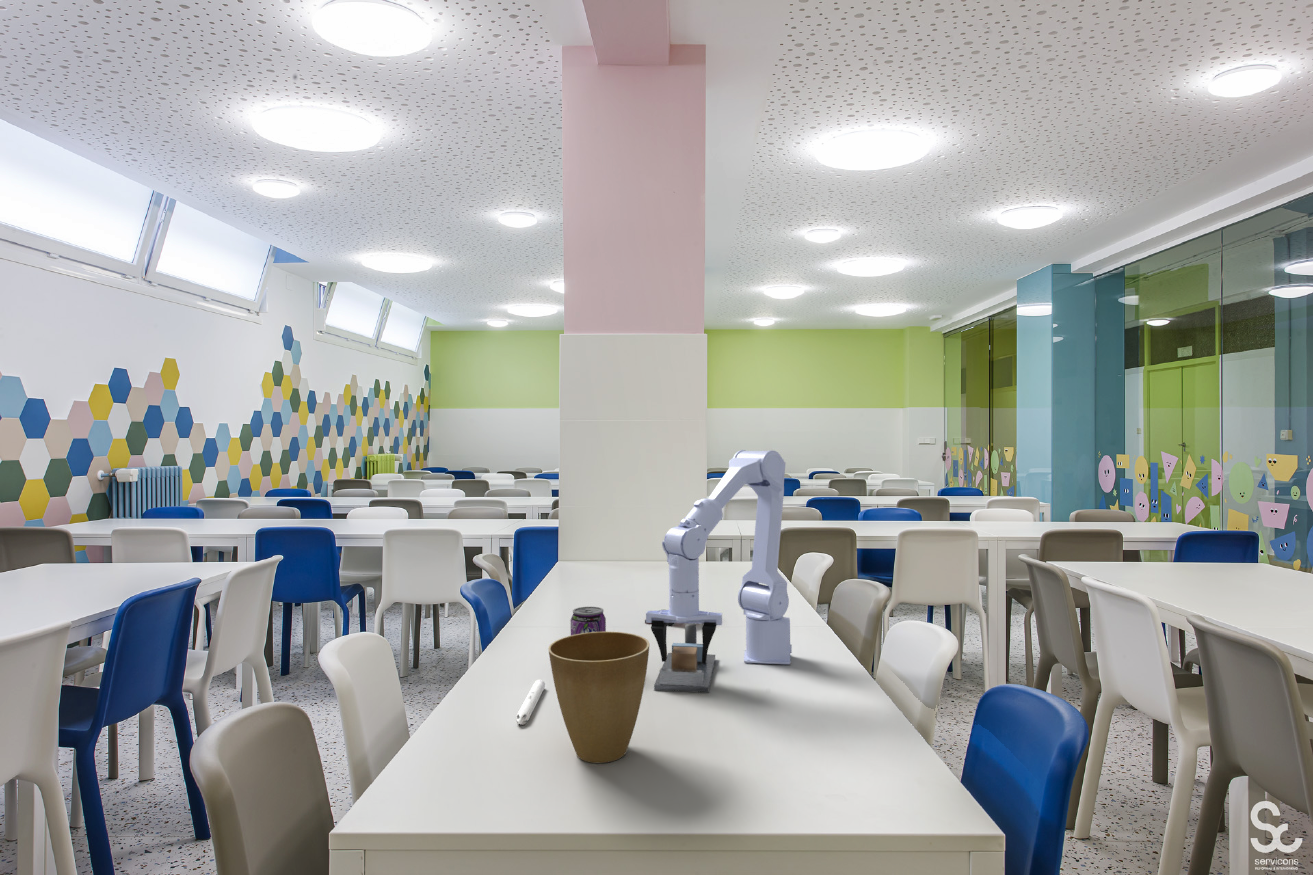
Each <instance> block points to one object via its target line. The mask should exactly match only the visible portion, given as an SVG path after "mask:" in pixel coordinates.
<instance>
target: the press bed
mask: <svg viewBox="0 0 1313 875" xmlns="http://www.w3.org/2000/svg"><path fill="white" fill-rule="evenodd" d="M671 653H672V652H667V659H666V662H663V664H662V667H661V668H660V669H659V673H658V675H657V678H656V680H655V682H654V684H653V691H660V692H661V691H662V692H663V691H664V692H682V693H683V692H686V693H701V694H702V693H704V694H709V691H710V687H711V681H712V677H713V672H714V669H715V664H716V663H715V662H716V654H710V653H709V654H708V653H707V660H706V663H702V662H700V661H697V670H684V669H672V655H671Z"/></svg>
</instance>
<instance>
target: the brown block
mask: <svg viewBox="0 0 1313 875" xmlns="http://www.w3.org/2000/svg"><path fill="white" fill-rule="evenodd" d="M670 653H671V655H672V669H684V670H697V647H674V648H673V651H672V650H671V652H670Z"/></svg>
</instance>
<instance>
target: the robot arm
mask: <svg viewBox="0 0 1313 875" xmlns="http://www.w3.org/2000/svg"><path fill="white" fill-rule="evenodd" d="M785 474H786V462H785V460H784V458H783V457H782V456H781V454H780V453H779V452H778V451H776V450H773V449H771V450H745V449H740V450H738V451H736V452H735V454H734V455H733V457H732V458H731V459H729V461H728V469H727V471H725V473H724V475H723V476H722V478H721V480H720V481H719V482H718V483H717V485H716V486H715V488H714V489H713V490H712V492H711V493H710V494H709V497H708V498H700V499H698V500H696V501H695V502H694V503H693V507H692V508H691V510H690V511H689V512H688V513H687V515H686V516H684V518H682V519H681V520H680V522H679V524H678V526H673V527H671V528H670V529H669V530H668V531H667V532H666V534H665V535H664V538H663V541H662V542H661V546H662V550H663V551H664V553H665V555H666V562H667V563H668V609H661V610H647V611H646V612H645V620H646V623H652V624H651V626H650V630H651V632H652V634H653V636H654V639H655V640H656V643H657V645H658V649H659V653H660V656H661V662H662V663H664V662H666V659H667V655H668V649H667V648H668V647H667V628H668V626H667V623H675V624H686V623H692V624H696V625H698V624H699V625H702V627H701V634H702V636H701V637H702V644H703V650H702V663H706V660H707V654H708V653H709V652H708V651H709V647H710V644H711V641H712V639H713V637H714V634H715V632H716V630H717V626H722V625H723V613H722V612H713V611H705V610H700V592H699V591H700V588H699V587H700V585H699V584H700V582H699V581H700V578H699V576H700V572H699V570H700V568H699V565H700V564H699V561H700V560H699V558H700V556H702V555H703V554H704V552H705V551H706V550H705V549H706V544H707V541H708V538H709V535H710V534H711V533H712V531H713V530H714V529H715V528H716V527H717V525H718V524H719V523H720V521H721V520H722V519H723V515H724V514H723V508H724V507H725V506H726V505H727V504H728V503H729V502H730V501H731V499H733V498H734V497H735V496H736V494H737V493H738V492H739V491H740V490H741V489H742V488H743V487H744V486H745V485H747V486H748V487H749V488H750V489H752V490H753V491H754V492H755V494H756V495H757V502H756V513H755V514H756V515H755V526H754V539H753V550H752V559H751V560H752V561H751V569H750V570H748V571H747V572H746V573H745V574H743V576H742V581H741V585H740V587H739V590H738V594H737V601H738V602H737V603H738V606H739V607H740V608H741V610H743V615H744V616H745V647H746V648H745V650H744V653H743V662H744V663H745V664H747V663H748V664H766V665H767V664H768V665H769V664H770V665H771V664H772V665H791V654H792V652H793V651H792V650H793V648H792V645H793V644H791V619H790V617H788V616H784V615H785V614H786V612H788V608H789V606H790V605H789V603H790V601H789V600H790V598H789V595H788V582H787V581H786V579H785V578H784V577H783V576H782V575H781V574H780V573H779V571H778V568H779V567H778V566H779V558H780V557H779V555H780V543H781V534H782V533H781V531H782V521H783V520H782V518H783V510H784V509H783V506H784V496H785V495H784V494H785V486H784V484H785ZM646 623H645V624H646Z"/></svg>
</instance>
